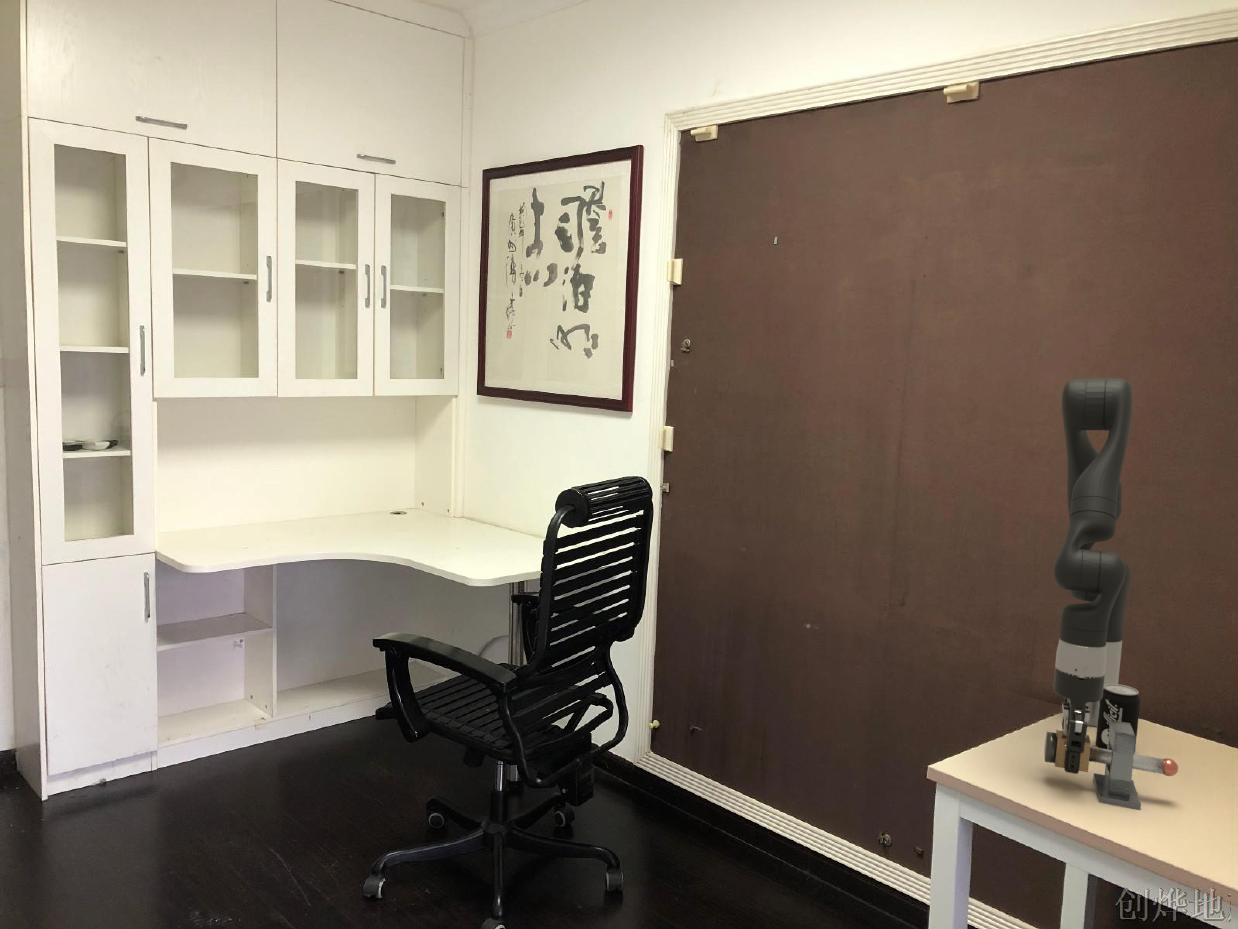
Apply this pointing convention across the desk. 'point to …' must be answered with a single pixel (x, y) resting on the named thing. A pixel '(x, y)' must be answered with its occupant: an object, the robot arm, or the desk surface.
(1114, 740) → the square loop bracket
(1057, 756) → the metal rod with knob
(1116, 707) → the beverage can
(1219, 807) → the desk surface
